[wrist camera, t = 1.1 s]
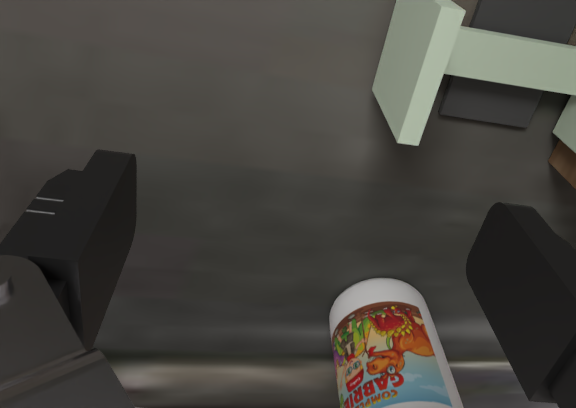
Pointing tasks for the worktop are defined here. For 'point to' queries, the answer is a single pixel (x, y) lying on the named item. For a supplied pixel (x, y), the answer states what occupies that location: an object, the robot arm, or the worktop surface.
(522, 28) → the pad
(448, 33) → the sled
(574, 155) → the tunnel
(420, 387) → the milk bottle
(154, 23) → the worktop surface
